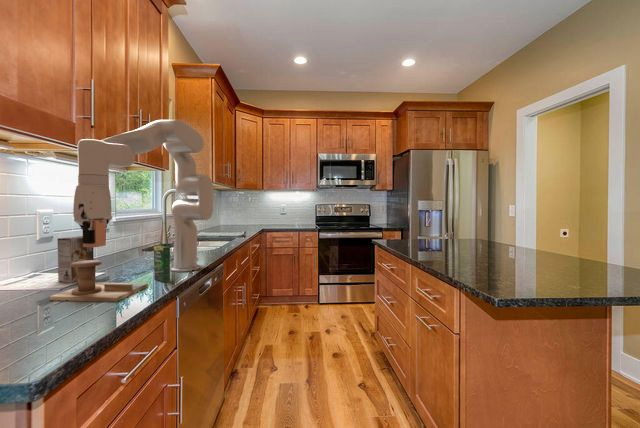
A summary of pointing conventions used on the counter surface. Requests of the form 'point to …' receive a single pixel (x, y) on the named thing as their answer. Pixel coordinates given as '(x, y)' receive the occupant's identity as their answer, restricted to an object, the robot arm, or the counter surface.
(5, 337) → the counter surface
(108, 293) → the board
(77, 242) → the coffee box
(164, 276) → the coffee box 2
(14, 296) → the counter surface
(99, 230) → the tab block
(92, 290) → the bobbin
